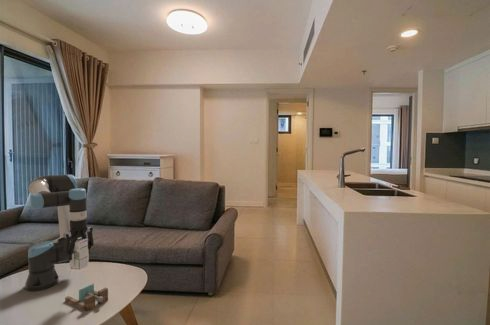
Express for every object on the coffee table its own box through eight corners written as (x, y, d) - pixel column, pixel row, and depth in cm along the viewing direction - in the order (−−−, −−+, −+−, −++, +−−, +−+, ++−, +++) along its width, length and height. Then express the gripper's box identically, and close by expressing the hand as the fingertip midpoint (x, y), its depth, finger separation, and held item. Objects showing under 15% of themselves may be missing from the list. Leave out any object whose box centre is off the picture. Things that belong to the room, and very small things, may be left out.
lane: (65, 301, 136) (64, 289, 136) (86, 291, 146) (86, 280, 146) (86, 311, 128) (86, 299, 128) (108, 299, 138) (107, 288, 137)
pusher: (79, 303, 134) (78, 289, 134) (92, 296, 140) (92, 283, 140) (94, 310, 128) (94, 296, 128) (108, 302, 135) (108, 289, 134)
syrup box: (88, 265, 141) (88, 237, 140) (79, 270, 135) (79, 241, 135) (79, 264, 142) (79, 237, 142) (70, 269, 136) (69, 240, 136)
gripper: (62, 224, 127) (63, 272, 128) (101, 215, 144) (102, 257, 146) (53, 222, 131) (54, 269, 132) (92, 214, 148) (93, 255, 149)
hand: (79, 263), depth 139 cm, fingers closed on syrup box, 7 cm apart
